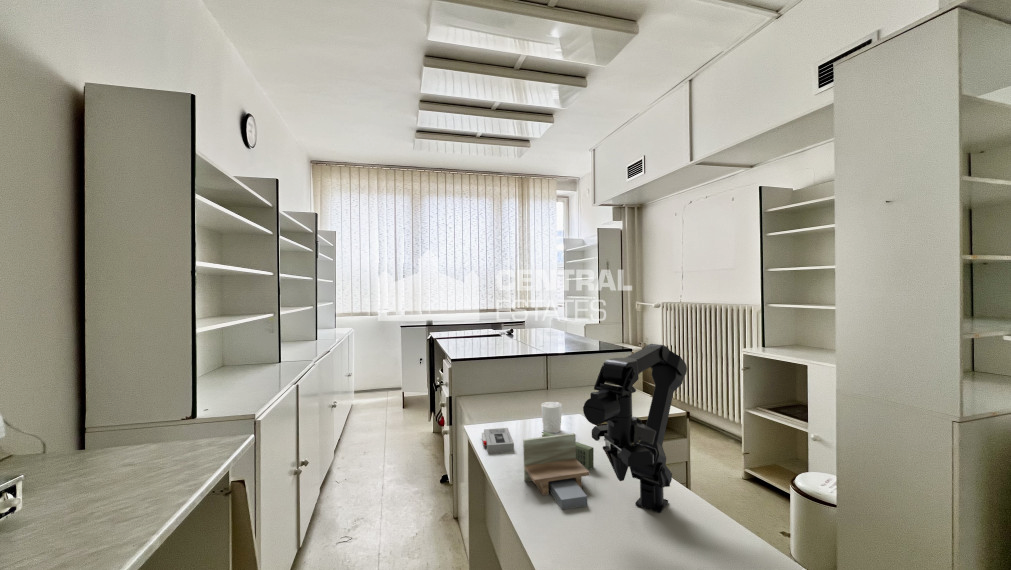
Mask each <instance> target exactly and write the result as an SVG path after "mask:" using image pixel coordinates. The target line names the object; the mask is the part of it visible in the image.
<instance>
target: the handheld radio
mask: <svg viewBox="0 0 1011 570" xmlns="http://www.w3.org/2000/svg"><path fill="white" fill-rule="evenodd" d="M541 433H542V435H541V437H547V436H555V435H556V434H555V433H547V432H545V431H541ZM594 457H595V456H594V447H593V446H590V445H587V444H584V443H582V442H581V443H580V442H578V441H576V459H577V460H578V461H579V462H580V463H581V464H582V465H583V466H584V467H585V468H586V469H587V470H588V471H590V470H593V469H594Z"/></svg>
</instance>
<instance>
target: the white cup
mask: <svg viewBox="0 0 1011 570" xmlns="http://www.w3.org/2000/svg"><path fill="white" fill-rule="evenodd" d="M562 408H563V407H562V403H560V402H557V401H546V402H542V403H541V419H542V420H541V421H542V430H543V432H547V433H551V434H555V433H559V432H561V431H562V429H561V428H562V427H561V425H562V411H563V410H562Z"/></svg>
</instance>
